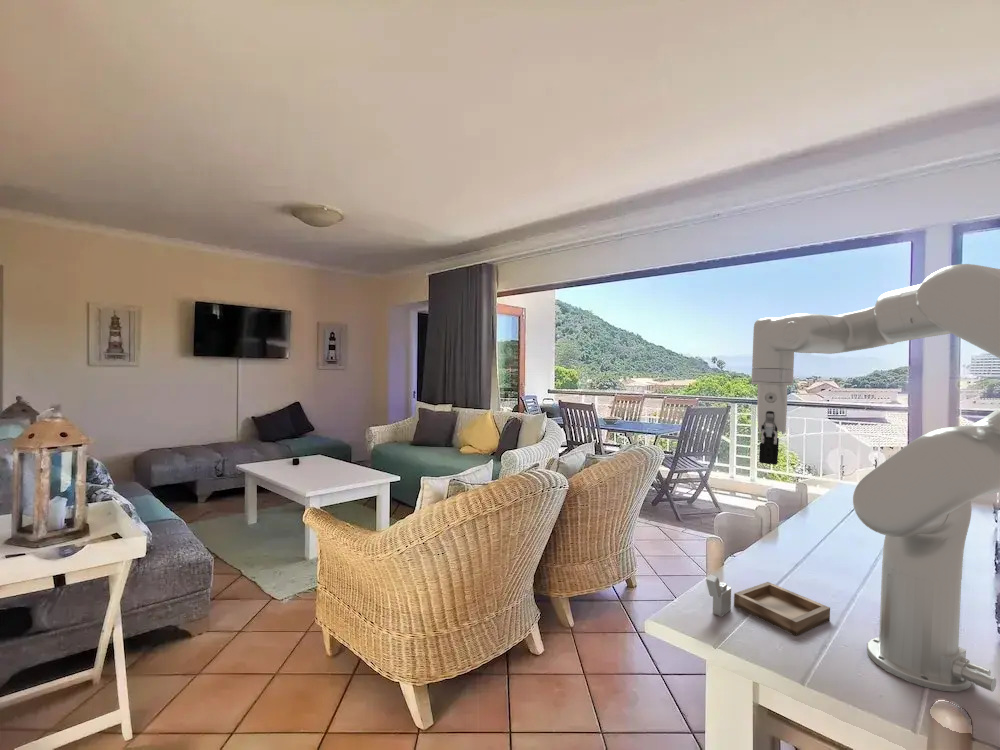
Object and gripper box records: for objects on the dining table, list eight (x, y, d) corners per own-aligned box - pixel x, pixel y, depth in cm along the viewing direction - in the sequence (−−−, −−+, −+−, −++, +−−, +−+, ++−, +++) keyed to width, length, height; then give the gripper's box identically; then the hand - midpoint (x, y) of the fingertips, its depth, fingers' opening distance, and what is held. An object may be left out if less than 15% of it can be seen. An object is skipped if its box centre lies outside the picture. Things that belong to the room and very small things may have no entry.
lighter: (722, 606, 96) (723, 565, 96) (730, 609, 95) (732, 568, 94) (704, 618, 91) (705, 575, 91) (713, 621, 90) (715, 579, 90)
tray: (829, 620, 91) (830, 607, 91) (795, 636, 86) (796, 622, 86) (767, 593, 101) (767, 581, 101) (733, 605, 96) (734, 593, 96)
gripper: (793, 379, 92) (790, 469, 92) (792, 377, 107) (789, 454, 107) (749, 377, 95) (745, 464, 96) (754, 376, 110) (751, 451, 111)
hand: (768, 459), depth 102 cm, fingers open, 9 cm apart
